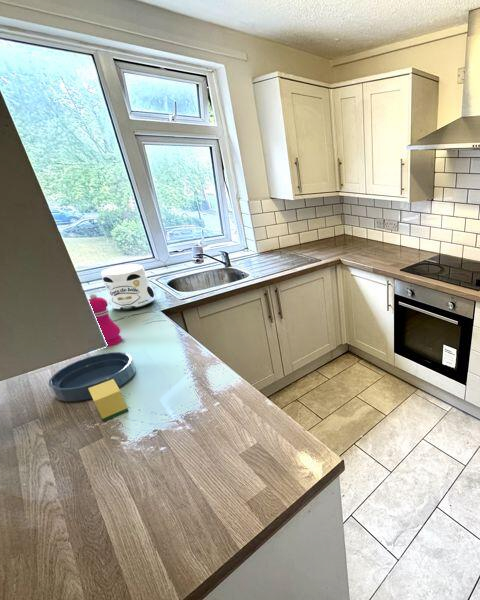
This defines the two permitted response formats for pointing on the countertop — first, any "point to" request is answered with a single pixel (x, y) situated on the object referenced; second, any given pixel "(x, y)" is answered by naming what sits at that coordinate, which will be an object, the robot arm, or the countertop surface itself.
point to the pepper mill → (105, 320)
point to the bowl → (91, 375)
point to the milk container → (127, 287)
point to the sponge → (108, 400)
